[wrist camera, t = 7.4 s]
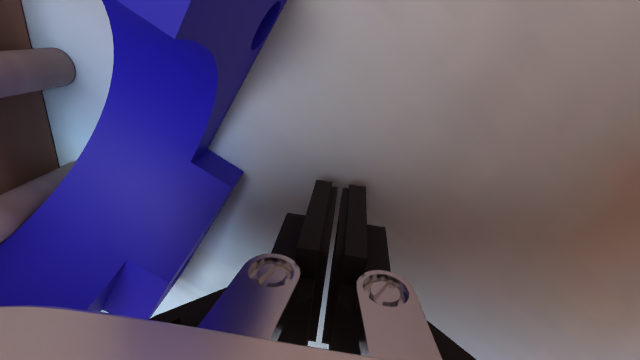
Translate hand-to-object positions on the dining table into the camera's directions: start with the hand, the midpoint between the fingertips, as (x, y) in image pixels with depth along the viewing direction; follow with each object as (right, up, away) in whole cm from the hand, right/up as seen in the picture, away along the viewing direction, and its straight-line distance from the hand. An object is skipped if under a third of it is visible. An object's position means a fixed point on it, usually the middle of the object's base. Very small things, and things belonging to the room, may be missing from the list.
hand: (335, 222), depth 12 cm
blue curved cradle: (-5, +3, +1) cm, 6 cm away
